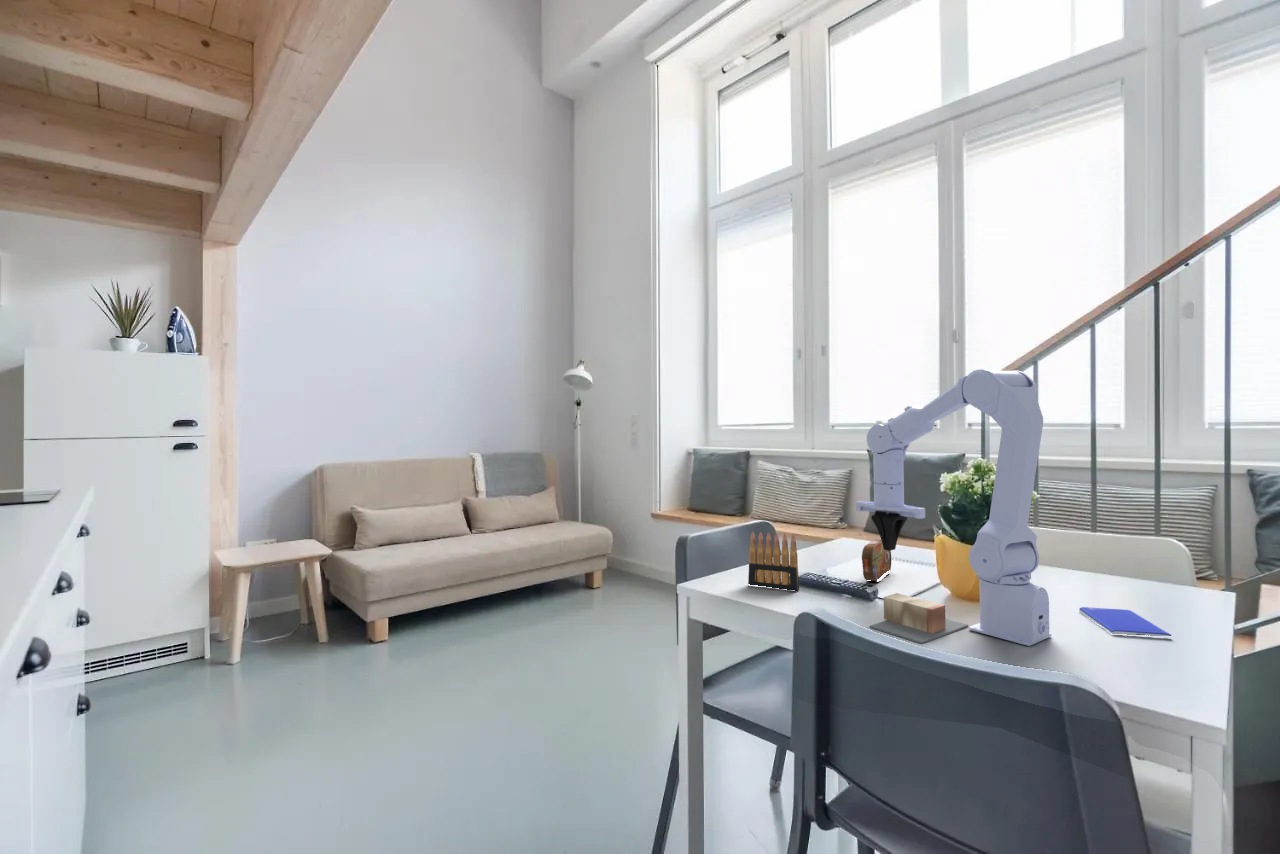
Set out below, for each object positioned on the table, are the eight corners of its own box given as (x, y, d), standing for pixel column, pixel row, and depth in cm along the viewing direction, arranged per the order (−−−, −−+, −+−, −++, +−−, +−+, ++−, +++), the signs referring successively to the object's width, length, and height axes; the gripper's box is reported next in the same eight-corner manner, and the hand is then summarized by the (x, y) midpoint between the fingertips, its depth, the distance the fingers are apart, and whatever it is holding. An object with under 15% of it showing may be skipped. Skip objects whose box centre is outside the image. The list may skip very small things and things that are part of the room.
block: (897, 615, 108) (945, 628, 101) (883, 619, 106) (932, 633, 99) (897, 593, 108) (945, 605, 101) (883, 596, 106) (932, 609, 99)
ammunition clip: (748, 586, 130) (747, 531, 130) (750, 584, 132) (749, 530, 132) (797, 591, 125) (796, 535, 125) (799, 589, 127) (798, 533, 127)
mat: (968, 626, 103) (968, 624, 103) (921, 643, 95) (921, 642, 95) (916, 612, 111) (916, 610, 111) (869, 627, 103) (869, 625, 103)
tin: (874, 586, 129) (874, 547, 129) (859, 584, 131) (859, 546, 131) (892, 572, 141) (892, 536, 141) (879, 570, 143) (878, 535, 143)
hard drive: (1079, 606, 110) (1111, 629, 98) (1131, 609, 107) (1171, 633, 95) (1079, 615, 110) (1111, 638, 98) (1131, 618, 107) (1171, 643, 95)
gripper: (846, 482, 126) (847, 546, 126) (910, 487, 114) (911, 558, 114) (867, 479, 130) (867, 542, 130) (930, 485, 117) (931, 553, 117)
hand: (889, 549), depth 122 cm, fingers closed
